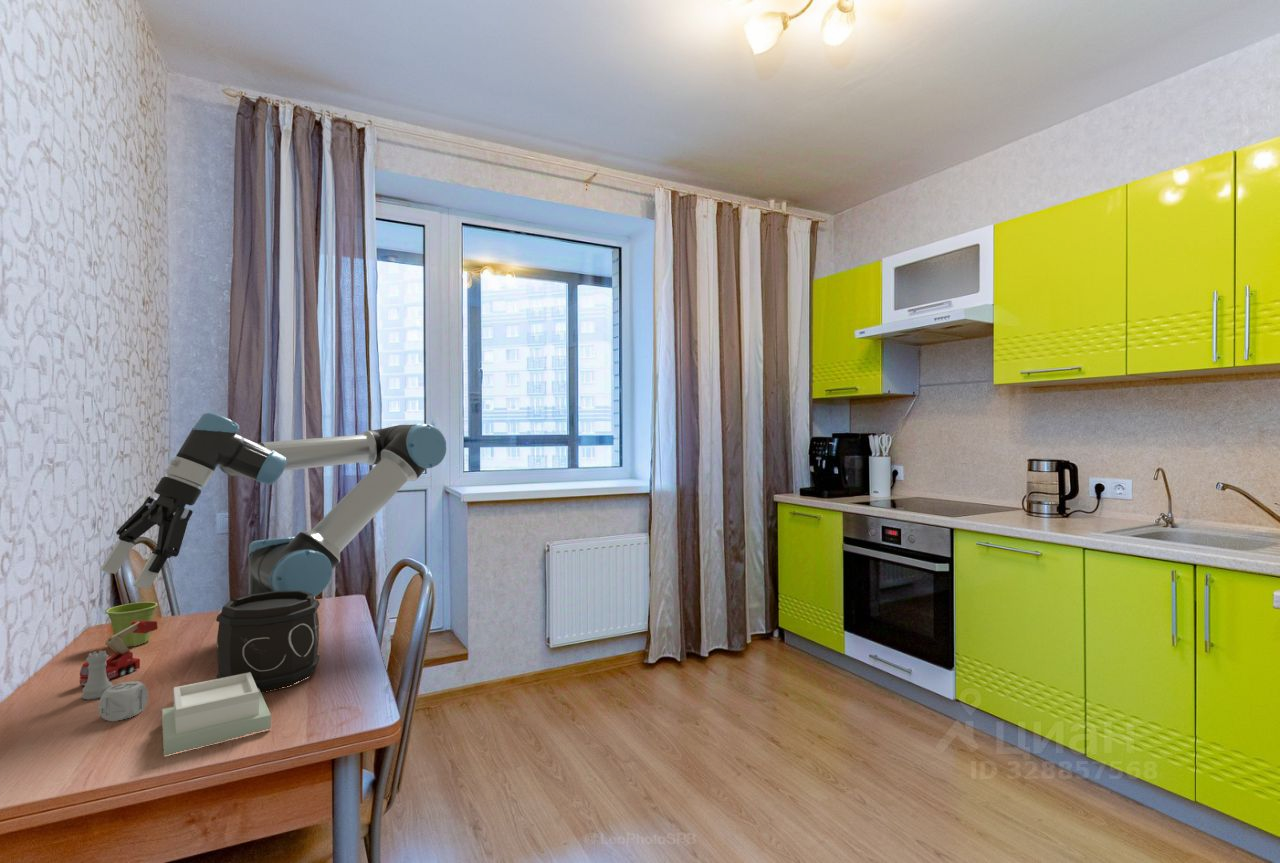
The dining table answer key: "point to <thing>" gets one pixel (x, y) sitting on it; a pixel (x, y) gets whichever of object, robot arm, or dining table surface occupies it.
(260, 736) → the dining table surface
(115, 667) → the toy fire truck
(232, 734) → the tower base
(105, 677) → the rook chess piece
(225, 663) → the black bucket
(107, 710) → the die
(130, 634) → the plant pot
